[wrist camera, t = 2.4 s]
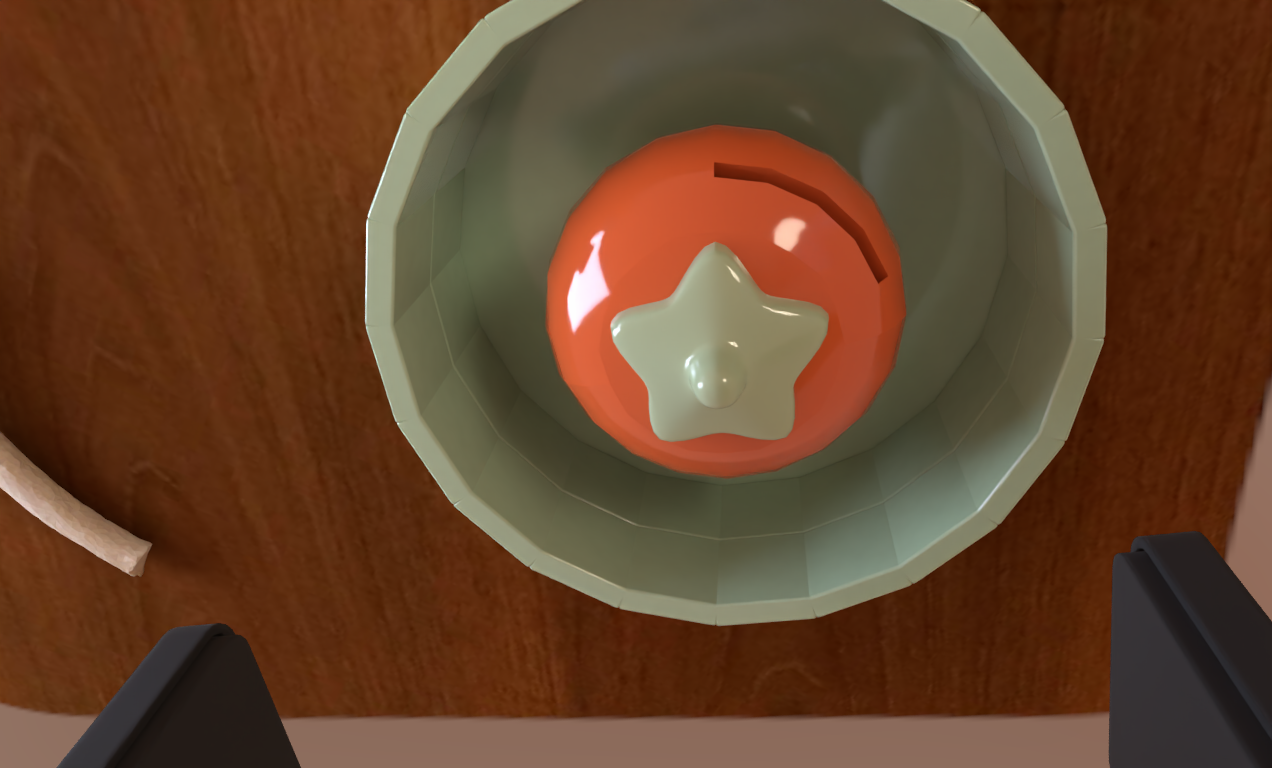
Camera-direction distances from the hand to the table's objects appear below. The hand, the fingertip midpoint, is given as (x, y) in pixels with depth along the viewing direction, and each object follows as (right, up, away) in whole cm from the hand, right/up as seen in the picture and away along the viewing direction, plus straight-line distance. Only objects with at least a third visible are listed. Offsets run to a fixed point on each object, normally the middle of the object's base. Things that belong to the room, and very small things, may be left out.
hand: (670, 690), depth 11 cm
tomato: (+2, +7, +13) cm, 15 cm away
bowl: (+2, +7, +13) cm, 15 cm away
